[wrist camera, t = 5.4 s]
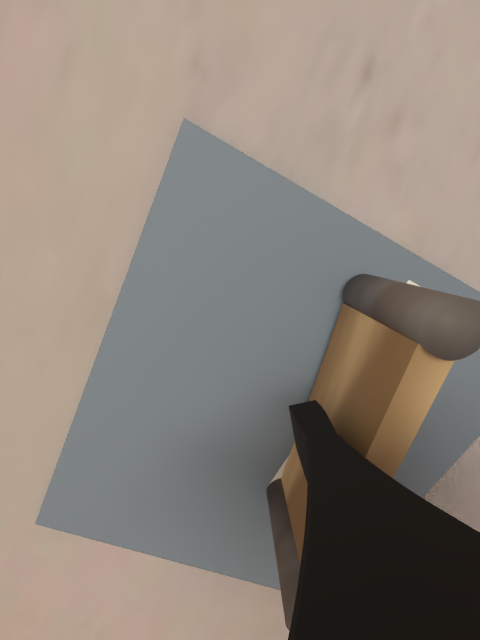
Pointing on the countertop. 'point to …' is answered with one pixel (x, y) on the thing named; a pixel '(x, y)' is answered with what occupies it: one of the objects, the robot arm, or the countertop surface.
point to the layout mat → (228, 365)
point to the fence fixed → (283, 547)
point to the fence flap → (384, 372)
